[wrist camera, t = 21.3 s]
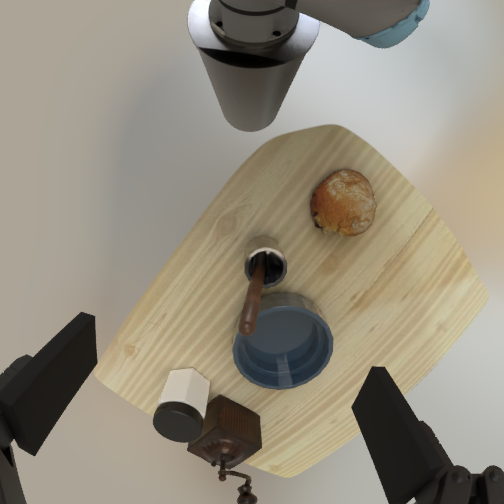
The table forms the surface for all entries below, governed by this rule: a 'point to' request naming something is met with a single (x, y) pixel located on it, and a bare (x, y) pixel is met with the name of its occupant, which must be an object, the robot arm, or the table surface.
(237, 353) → the bowl
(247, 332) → the stick
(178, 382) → the jar
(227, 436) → the manual coffee grinder
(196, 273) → the table surface
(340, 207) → the bread roll
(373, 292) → the table surface
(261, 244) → the holder
